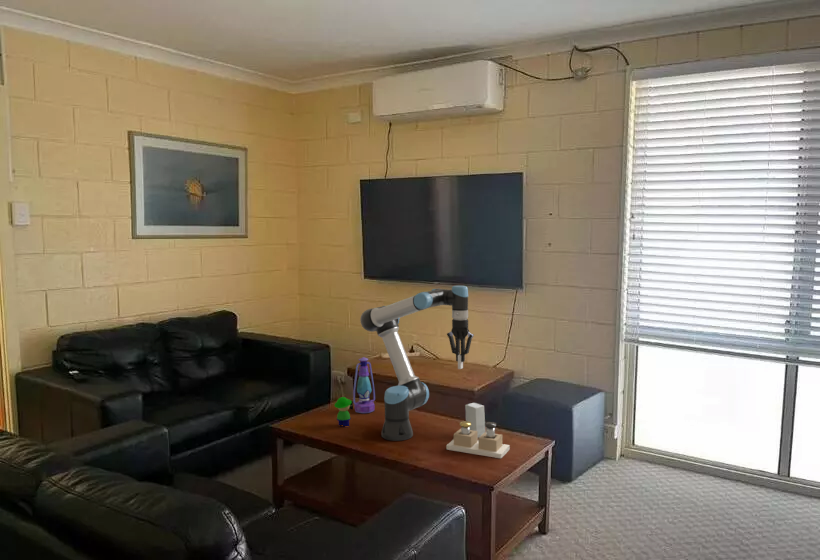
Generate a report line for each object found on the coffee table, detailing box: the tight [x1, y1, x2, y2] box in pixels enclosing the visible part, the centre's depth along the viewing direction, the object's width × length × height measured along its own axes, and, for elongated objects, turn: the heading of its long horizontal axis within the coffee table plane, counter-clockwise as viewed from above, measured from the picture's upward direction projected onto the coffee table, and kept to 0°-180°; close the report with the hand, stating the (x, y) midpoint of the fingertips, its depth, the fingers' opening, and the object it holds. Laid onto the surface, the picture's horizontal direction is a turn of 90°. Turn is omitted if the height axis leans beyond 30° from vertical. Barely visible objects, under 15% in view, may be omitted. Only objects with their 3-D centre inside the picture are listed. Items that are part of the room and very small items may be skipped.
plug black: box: [485, 421, 497, 439], centre depth 280 cm, size 5×5×9 cm
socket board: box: [445, 428, 511, 459], centre depth 283 cm, size 26×12×7 cm, turn 64°
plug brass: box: [459, 420, 471, 435], centre depth 286 cm, size 5×5×9 cm
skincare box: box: [464, 402, 486, 439], centre depth 302 cm, size 8×6×15 cm
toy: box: [333, 396, 354, 427], centre depth 318 cm, size 9×9×15 cm
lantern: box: [352, 356, 376, 414], centre depth 342 cm, size 13×12×30 cm
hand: (460, 368), depth 294 cm, fingers closed
